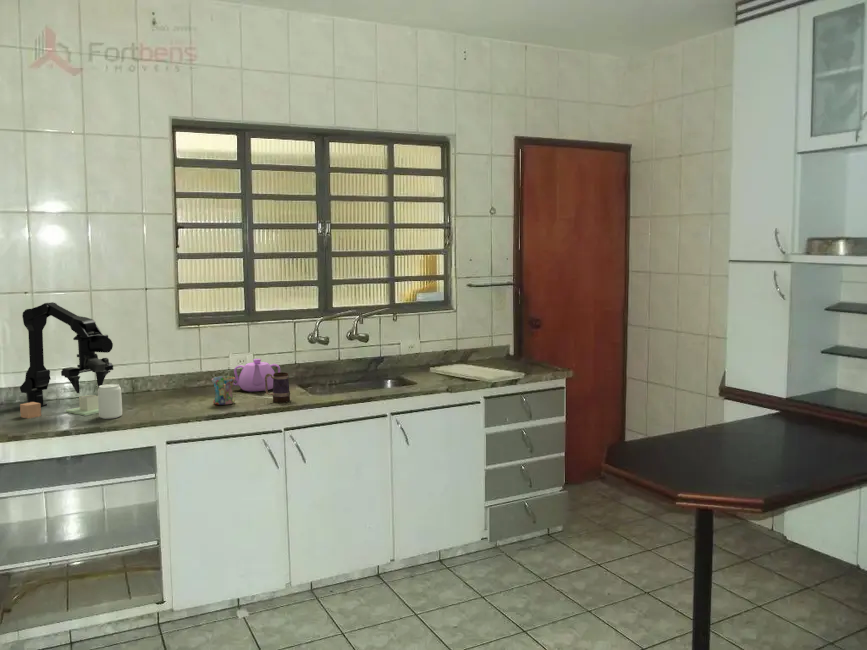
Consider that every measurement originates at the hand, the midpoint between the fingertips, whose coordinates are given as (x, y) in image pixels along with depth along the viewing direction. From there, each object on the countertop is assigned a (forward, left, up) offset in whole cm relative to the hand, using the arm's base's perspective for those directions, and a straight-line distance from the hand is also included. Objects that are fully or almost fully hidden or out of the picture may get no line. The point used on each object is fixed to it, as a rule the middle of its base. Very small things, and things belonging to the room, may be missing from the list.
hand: (89, 391), depth 286 cm
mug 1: (+37, +35, -8) cm, 51 cm away
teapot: (+28, +63, -8) cm, 69 cm away
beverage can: (+16, -2, -8) cm, 18 cm away
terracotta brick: (-11, -17, -8) cm, 22 cm away
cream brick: (0, 0, -7) cm, 7 cm away
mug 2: (+52, +50, -8) cm, 72 cm away
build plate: (0, 0, -8) cm, 8 cm away
